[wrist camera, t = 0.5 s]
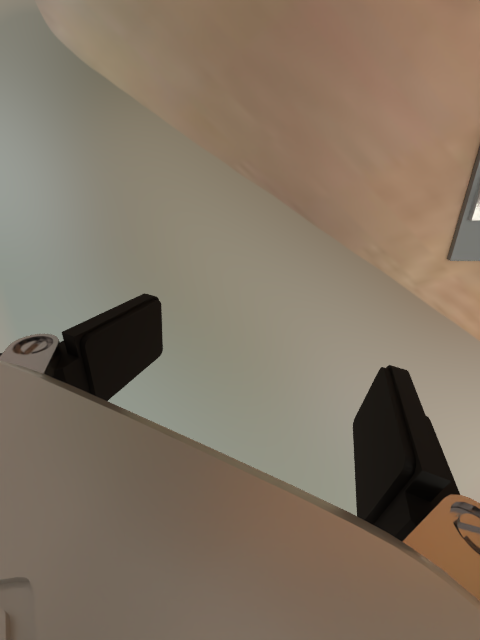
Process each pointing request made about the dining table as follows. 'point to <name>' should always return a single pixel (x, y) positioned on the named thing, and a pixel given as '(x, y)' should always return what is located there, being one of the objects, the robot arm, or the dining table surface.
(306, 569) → the robot arm
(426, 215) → the dining table surface
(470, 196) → the board
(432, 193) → the dining table surface
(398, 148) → the dining table surface
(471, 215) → the white plate with knobs
